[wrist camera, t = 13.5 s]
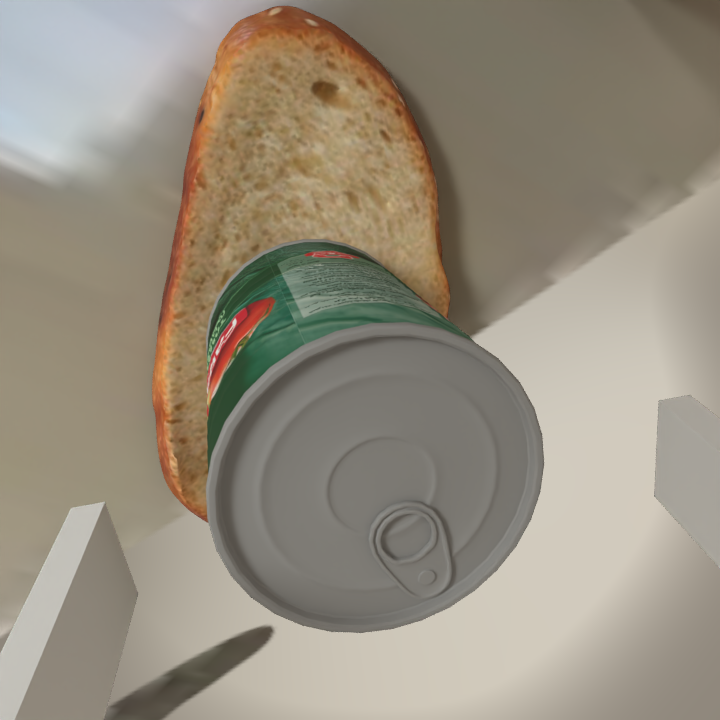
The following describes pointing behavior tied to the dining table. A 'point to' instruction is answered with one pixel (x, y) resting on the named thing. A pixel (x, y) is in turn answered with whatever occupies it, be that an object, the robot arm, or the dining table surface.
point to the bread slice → (285, 197)
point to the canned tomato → (358, 443)
